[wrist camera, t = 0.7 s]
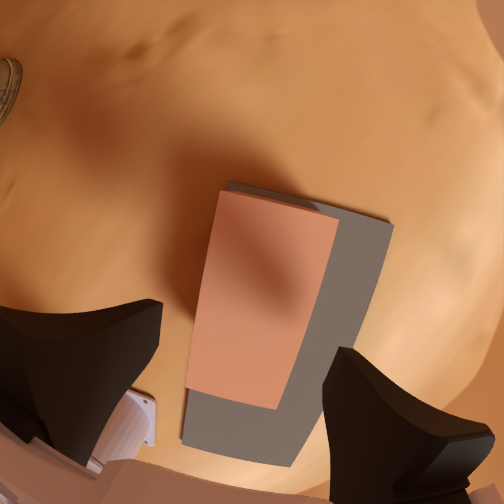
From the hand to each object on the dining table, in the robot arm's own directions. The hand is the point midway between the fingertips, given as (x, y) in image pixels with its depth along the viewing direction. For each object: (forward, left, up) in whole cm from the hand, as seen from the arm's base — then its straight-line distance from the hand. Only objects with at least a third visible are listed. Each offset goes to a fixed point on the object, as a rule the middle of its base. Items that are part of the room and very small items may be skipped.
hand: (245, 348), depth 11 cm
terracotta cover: (0, 0, -9) cm, 9 cm away
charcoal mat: (+2, -7, -9) cm, 12 cm away
